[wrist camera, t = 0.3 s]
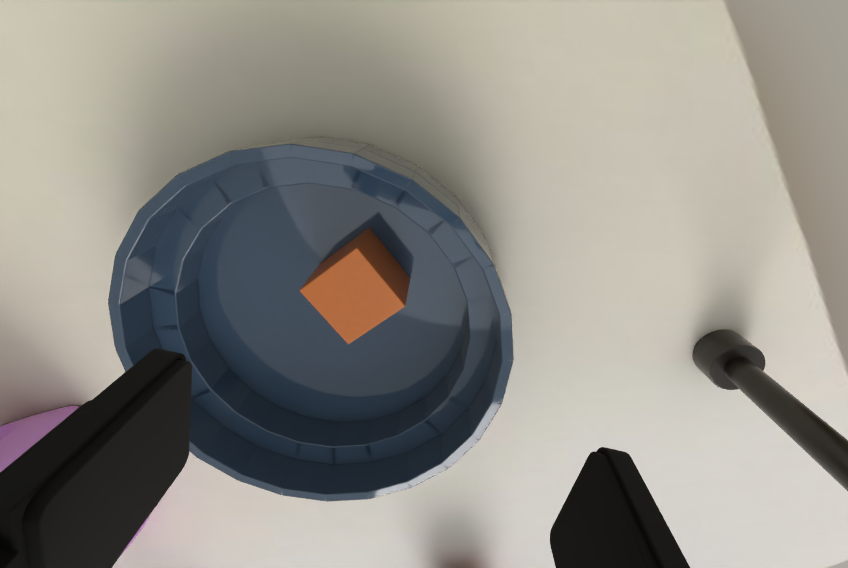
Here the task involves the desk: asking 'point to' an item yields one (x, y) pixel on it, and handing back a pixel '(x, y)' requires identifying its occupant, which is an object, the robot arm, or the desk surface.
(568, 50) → the desk surface
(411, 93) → the desk surface
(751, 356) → the dark grey bolt
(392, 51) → the desk surface
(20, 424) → the teapot
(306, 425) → the bowl
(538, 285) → the desk surface
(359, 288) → the block
